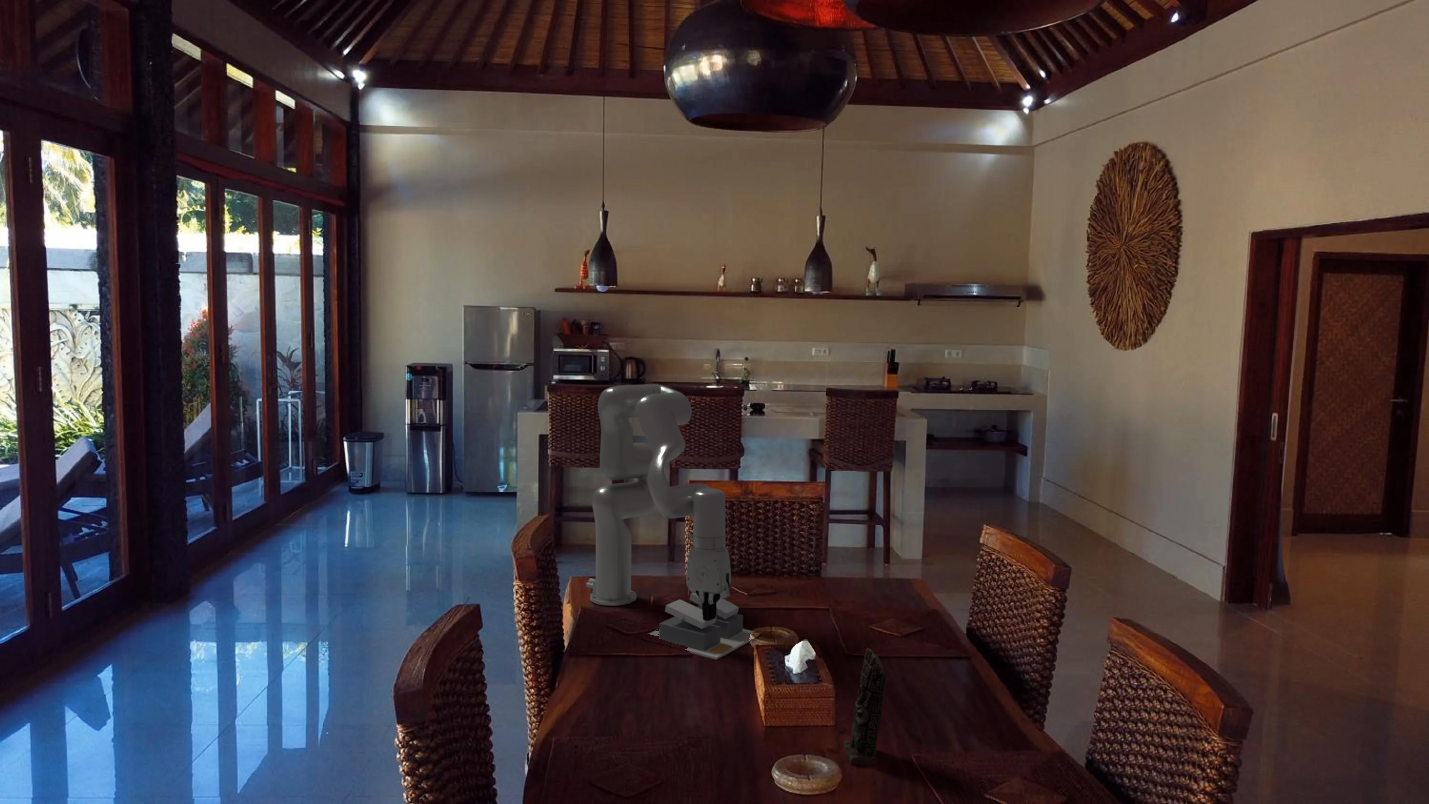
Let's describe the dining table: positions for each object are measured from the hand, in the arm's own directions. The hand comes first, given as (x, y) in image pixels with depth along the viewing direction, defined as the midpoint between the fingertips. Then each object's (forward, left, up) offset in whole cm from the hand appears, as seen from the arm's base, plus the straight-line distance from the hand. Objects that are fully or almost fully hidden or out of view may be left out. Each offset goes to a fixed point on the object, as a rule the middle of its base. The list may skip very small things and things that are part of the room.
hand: (709, 618), depth 233 cm
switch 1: (-6, 0, -1) cm, 6 cm away
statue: (+53, -28, -8) cm, 61 cm away
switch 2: (-6, +10, -1) cm, 12 cm away
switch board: (-6, +5, -7) cm, 10 cm away
